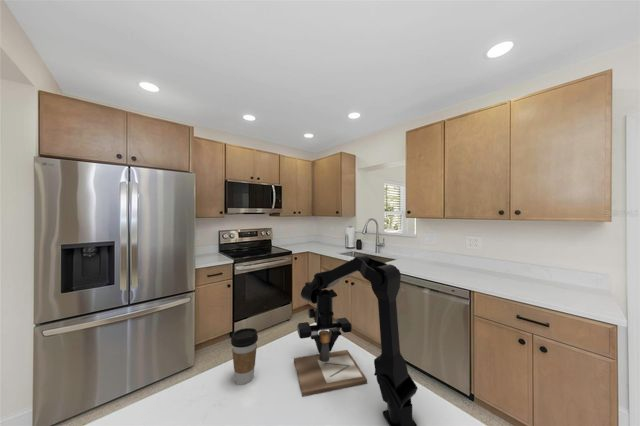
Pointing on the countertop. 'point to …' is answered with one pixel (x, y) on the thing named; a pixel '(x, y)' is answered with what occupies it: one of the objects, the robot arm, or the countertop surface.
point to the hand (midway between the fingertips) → (324, 351)
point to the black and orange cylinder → (324, 346)
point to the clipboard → (328, 373)
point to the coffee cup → (244, 354)
